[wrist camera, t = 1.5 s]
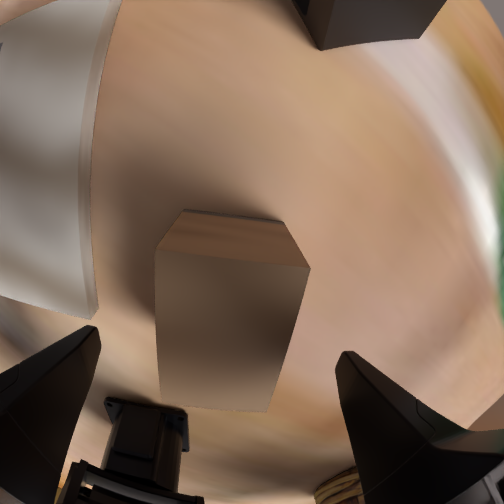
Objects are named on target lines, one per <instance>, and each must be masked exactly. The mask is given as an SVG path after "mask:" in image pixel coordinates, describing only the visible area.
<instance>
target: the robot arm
mask: <svg viewBox="0 0 504 504" xmlns="http://www.w3.org/2000/svg"><path fill="white" fill-rule="evenodd" d="M100 351H101V341H100V336H99V331H98V328H97V327H95V326H90V325H86V326H84V327H82V328H81V329H79V330H77V331H75V332H73V333H72V334H70V335H68V336H66V337H64V338H63V339H61V340H59V341H57V342H56V343H54V344H52V345H50V346H48V347H47V348H45V349H43V350H41V351H40V352H38V353H36V354H34V355H33V356H31V357H29V358H27V359H26V360H24V361H22V362H20V364H17V365H15V366H13V367H12V368H10V369H8V370H6V371H4V372H3V373H0V504H54V502H55V497H56V493H57V489H58V485H59V481H60V477H61V474H60V473H61V472H62V469H63V465H64V462H65V458H66V455H67V451H68V448H69V445H70V442H71V439H72V436H73V433H74V430H75V427H76V424H77V421H78V418H79V415H80V412H81V410H82V407H83V404H84V401H85V399H86V396H87V394H88V391H89V388H90V386H91V383H92V380H93V376H94V372H95V369H96V365H97V362H98V358H99V355H100ZM335 374H336V380H337V386H338V393H339V399H340V405H341V409H342V412H343V416H344V420H345V423H346V427H347V431H348V435H349V439H350V442H351V446H352V450H353V454H354V458H355V462H356V466H357V470H358V474H359V479H360V483H361V487H362V492H363V495H364V496H363V497H364V501H365V504H504V429H498V430H488V431H470V430H467V429H464V428H462V427H461V426H459V425H457V424H456V423H454V422H452V421H450V420H449V419H447V418H445V417H444V416H442V415H440V414H439V413H437V412H436V411H434V410H432V409H431V408H430V407H428V406H427V405H425V404H424V403H422V402H421V401H420V400H418V399H416V397H414V396H413V395H411V394H410V393H409V392H407V391H406V390H405V389H403V388H402V387H401V386H399V385H398V384H397V383H395V382H394V381H393V380H391V379H390V378H389V377H387V376H386V375H385V374H383V373H382V372H381V371H379V370H378V369H377V368H375V367H374V366H373V365H371V364H370V363H369V362H367V361H366V360H365V359H363V358H362V357H361V356H359V355H358V354H357V353H355V352H354V351H343V352H342V354H341V356H340V358H339V360H338V362H337V365H336V368H335ZM104 405H105V407H106V410H107V412H108V415H109V417H110V420H111V422H112V424H113V426H112V429H111V433H110V436H109V439H108V442H107V446H106V449H105V453H104V456H103V460H102V463H101V467H100V468H98V467H95V466H93V465H91V464H88V462H87V461H84V460H82V459H81V460H80V463H76V462H72V464H71V467H70V470H69V473H68V476H67V479H66V481H65V484H64V486H63V488H62V490H61V493H60V495H59V497H58V500H57V502H56V504H205V503H204V497H201V496H190V495H185V494H180V493H178V482H179V472H180V462H181V452H189V448H190V446H189V428H188V415H187V413H185V412H182V411H176V410H170V409H163V408H157V407H152V406H146V405H141V404H136V403H132V402H127V401H123V400H119V399H115V398H111V397H106V398H105V400H104ZM86 484H89V485H91V486H93V487H92V489H89V488H87V487H85V486H86Z"/></svg>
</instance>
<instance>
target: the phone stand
mask: <svg viewBox="0 0 504 504" xmlns="http://www.w3.org/2000/svg"><path fill="white" fill-rule="evenodd" d="M291 1H292V2H293V4H294V6H295V8H296V9H297V11H298V13H299V14H300V16H301V18H302V20H303V22H304V23H305V25H306V27H307V29H308V31H309V33H310V35H311V37H312V38H313V40H314V42H315V44H316V46H317V48H318V49H319V50H320V51H323V50H328V49H333V48H338V47H344V46H349V45H356V44H363V43H370V42H379V41H389V40H402V39H419V38H420V37H421V35H422V34H423V33H424V31H425V30H426V28H427V27H428V26H429V24H430V23H431V22H432V20H433V19H434V17H435V16H436V15H437V13H438V12H439V11H440V9H441V8H442V6H443V5H444V4H445V2H446V1H447V0H291Z"/></svg>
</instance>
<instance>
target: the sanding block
mask: <svg viewBox="0 0 504 504" xmlns="http://www.w3.org/2000/svg"><path fill="white" fill-rule="evenodd" d="M310 269H311V268H310V266H309V265H308V263H307V261H306V259H305V258H304V256H303V254H302V252H301V251H300V249H299V247H298V246H297V244H296V242H295V240H294V239H293V237H292V235H291V234H290V232H289V230H288V229H287V227H286V225H285V224H284V222H279V221H272V220H265V219H258V218H251V217H243V216H236V215H228V214H220V213H212V212H204V211H196V210H187V209H184V210H183V211H182V213H181V214H180V215H179V217H178V218H177V219H176V221H175V222H174V223H173V225H172V226H171V227H170V229H169V230H168V232H167V233H166V234H165V236H164V237H163V238H162V240H161V241H160V243H159V244H158V245H157V247H156V248H155V325H156V344H157V359H158V371H159V382H160V392H161V400H162V403H168V404H174V405H181V406H188V407H196V408H205V409H215V410H227V411H242V412H267V409H268V407H269V404H270V401H271V398H272V395H273V392H274V389H275V386H276V383H277V380H278V377H279V374H280V371H281V368H282V365H283V362H284V359H285V356H286V353H287V349H288V346H289V343H290V340H291V336H292V333H293V330H294V326H295V323H296V320H297V316H298V313H299V309H300V306H301V302H302V299H303V295H304V291H305V288H306V284H307V280H308V276H309V273H310Z"/></svg>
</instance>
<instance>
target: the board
mask: <svg viewBox="0 0 504 504" xmlns="http://www.w3.org/2000/svg"><path fill="white" fill-rule="evenodd" d="M121 2H122V0H57V1H55V2H52V3H49V4H47V5H44V6H41V7H39V8H37V9H34V10H32V11H30V12H27V13H25V14H23V15H21V16H19V17H17V18H14V19H12V20H10V21H9V22H7V23H5V24H3V25H1V26H0V295H1V296H4V297H7V298H11V299H14V300H17V301H20V302H23V303H27V304H30V305H34V306H37V307H41V308H44V309H48V310H52V311H55V312H59V313H63V314H67V315H71V316H76V317H80V318H84V319H89V320H91V319H92V317H93V316H94V314H95V313H96V311H97V310H98V308H99V306H98V300H97V293H96V285H95V277H94V267H93V257H92V244H91V225H90V171H91V153H92V140H93V129H94V120H95V112H96V105H97V99H98V92H99V87H100V81H101V76H102V71H103V66H104V62H105V57H106V53H107V49H108V45H109V41H110V37H111V34H112V30H113V27H114V23H115V20H116V17H117V14H118V11H119V8H120V5H121Z"/></svg>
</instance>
